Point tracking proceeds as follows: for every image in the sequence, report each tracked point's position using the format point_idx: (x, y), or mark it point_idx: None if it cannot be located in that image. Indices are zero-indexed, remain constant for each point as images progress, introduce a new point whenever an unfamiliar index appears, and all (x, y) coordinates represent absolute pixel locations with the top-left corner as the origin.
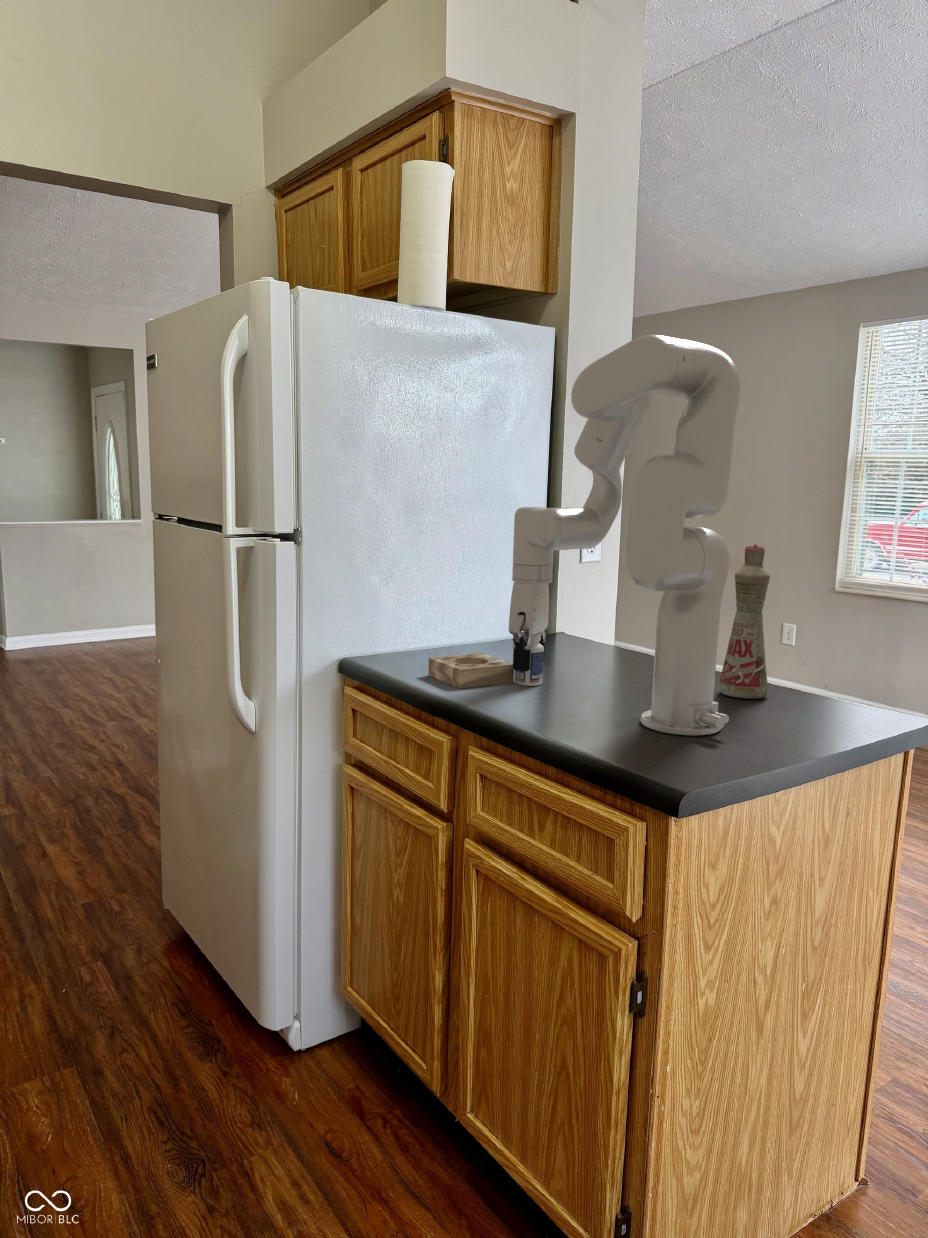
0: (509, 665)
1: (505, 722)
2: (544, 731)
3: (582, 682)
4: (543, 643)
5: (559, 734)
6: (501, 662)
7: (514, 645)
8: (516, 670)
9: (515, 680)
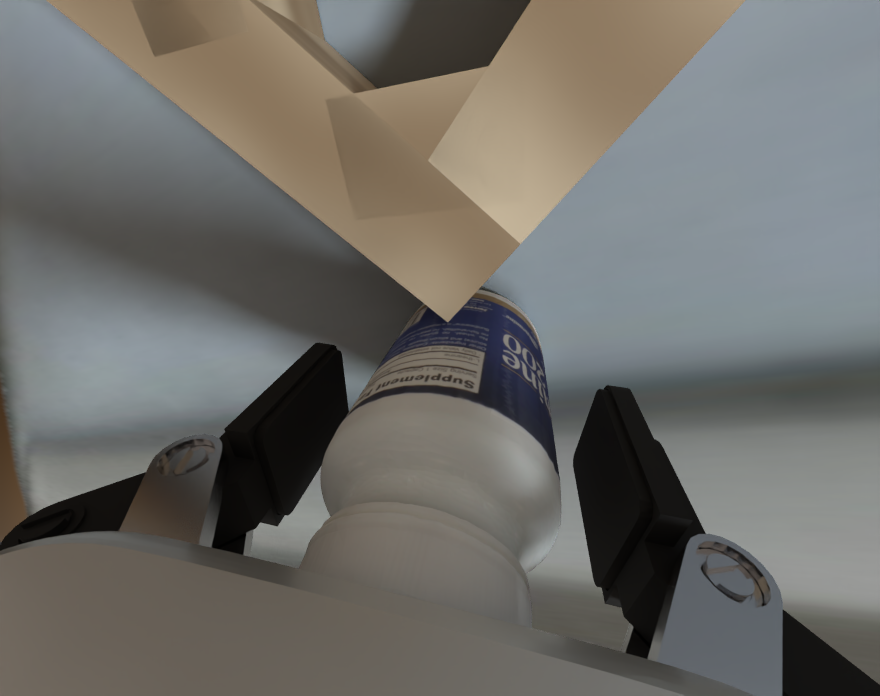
0: (416, 294)
1: (7, 371)
2: (46, 449)
3: (576, 517)
4: (605, 594)
5: (60, 471)
6: (463, 216)
7: (158, 467)
8: (402, 335)
9: (424, 305)
